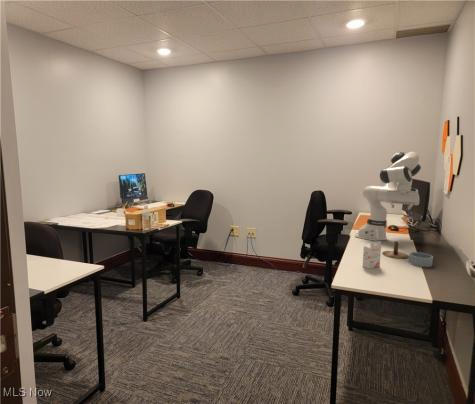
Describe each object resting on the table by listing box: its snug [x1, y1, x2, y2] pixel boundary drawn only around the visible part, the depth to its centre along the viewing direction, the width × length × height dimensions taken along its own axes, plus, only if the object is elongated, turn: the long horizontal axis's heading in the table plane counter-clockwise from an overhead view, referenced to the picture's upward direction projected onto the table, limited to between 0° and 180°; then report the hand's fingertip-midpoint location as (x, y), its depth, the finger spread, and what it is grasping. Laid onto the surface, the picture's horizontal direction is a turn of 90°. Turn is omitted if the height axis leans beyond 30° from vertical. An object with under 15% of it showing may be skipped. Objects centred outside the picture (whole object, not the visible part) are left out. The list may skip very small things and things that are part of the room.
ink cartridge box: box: [362, 240, 382, 269], centre depth 189 cm, size 9×5×15 cm, turn 117°
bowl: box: [408, 251, 434, 268], centre depth 197 cm, size 12×12×5 cm
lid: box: [381, 240, 409, 260], centre depth 213 cm, size 15×15×9 cm
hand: (400, 208), depth 219 cm, fingers open, 8 cm apart
